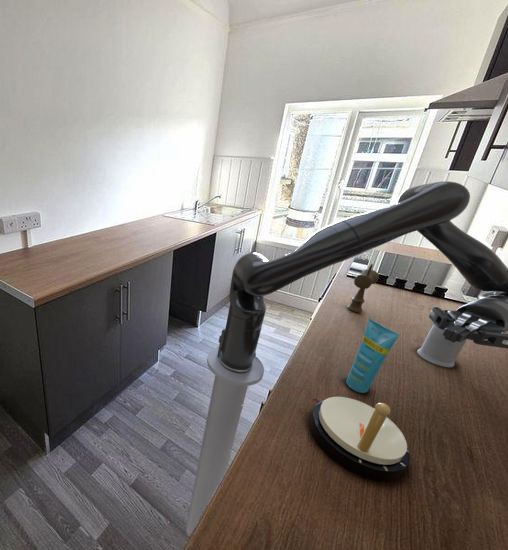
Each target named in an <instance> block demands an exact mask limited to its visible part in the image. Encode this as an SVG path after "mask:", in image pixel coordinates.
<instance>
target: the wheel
mask: <svg viewBox="0 0 508 550" xmlns="http://www.w3.org/2000/svg"><path fill="white" fill-rule="evenodd" d="M322 401H323V403H322V404H321V407H320V409H319V419H320V422H321V424H322V426H323V428H324V429H325V431H326V432H327V433H328V435H329V436H330V437H331V438H332V439H333V440H334V441H335V442H336V443H338V444H339V445H340V446H341V447H343V448H344V449H346V450H347V451H349V452H350V453H352V454H354V455H356V456H357V457H359V458H362V459H364V460H367V461H370V462H373V463H377V464H383V465H390V464H395V463H398V462H399V461H401V460H402V458H403V457H404V455H405V453H406V451H407V447H408V443H407V440H406V438H405V435H404V434H403V432H402V430H400V428H399V427H398V426H397V425H396V424H395V423H394V422H393V421H392V420H391V419H390V418H389V417H388V416H390V414H391V412H392V411H391V408H390V406H389V405H388V404H386V403H385V402H377V403H375V404H374V407H373V406H371V405H369V404H367V403H365V402H362V401H360V400H357V399H354V398H350V397H346V396H332V397H328V398H326V399H324V400H322Z"/></svg>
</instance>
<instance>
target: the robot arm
mask: <svg viewBox="0 0 508 550" xmlns="http://www.w3.org/2000/svg"><path fill="white" fill-rule="evenodd" d="M470 200H471V193H470V191H469V189H468V187H466V186H465V185H463V184H462V183H459V182H455V181H445V180H443V181H442V180H441V181H435V182H430V183H425V184H420V185H415V186H412V187H409V188H406V190H404V191H403V192H402V193H401V194H400V195H399V196H398V198H397V200H396V203H395V204H392V205H390V206H386V207H383V208H379V209H376V210H371V211H367V212H363V213H359V214H356V215H353V216H350V217H349V216H348V217H347V218H344V219H341V220H338V221H336V222H333V223H331V224H329V225H326V226H325V227H322V228H320V229H318V230H317V231H315V232H313V234H311V235H310V236H309V237H307V239H306V240H305V241H304V242H303V243H302V244H301V245H300V246H299V247H298V248H297V249H295V250H293V251H291V252H289V253H287V254H284V255H282V256H279V257H277V258H274V259H270V260H268V258H266V257H265V256H264V255H263V254H261V253H257V252H249V253H245V254H243V255H242V256H240V257H239V258H238V259H237V261H236V262H235V265H234V266H233V269H232V274H231V281H230V287H229V295H228V296H229V307H228V313H227V319H226V323H225V328H224V329H222V330H221V334H220V335H219V337H218V343H219V345H218V347H219V349H218V355H217V357H219V362H220V364H221V365H222V366H223V367H224V368H225V369H227V370H229V371H231V372H234V373H247V372H249V371H250V370H251V369H252V365H253V360H254V356H255V357H257V354H256V353H257V352H256V351H257V348H258V345H259V340H260V335H261V331H262V328H263V323H264V319H265V316H266V311H267V306H266V302H265V296H269V295H271V294H273V293H275V292H277V291H279V290H281V289H283V288H285V287H287V286H289V285H290V284H292V283H294V282H296V281H298V280H300V279H302V278H304V277H307V276H309V275H312V274H315V273H316V272H319V271H321V270H323V269H326V268H328V267H331V266H334V265H337V264H339V263H341V262H344V261H346V260H349V259H352V258H354V257H356V256H359V255H361V254H364V253H366V252H368V251H370V250H372V249H375V248H378V247H380V246H383V245H385V244H387V243H390V242H392V241H395V240H396V239H398V238H401V237H402V236H405V235H408V234H411V233H413V232H416V231H417V233H419V234H420V235H421V236H422V237H423V238H425V239H426V240H427V241H428V242H429V243H431V244H432V246H434V247H435V248H436V249H437V250H438V251H440V253H441V254H443V256H444V257H445V258H447V259H448V261H449V262H451V264H452V265H453V266H454V267H455V269H457V272H458V273H460V275H461V276H462V277H463V278H464V280H465V281H466V282H467V283H468V284H469V286H470V287H472V288H473V289H474V290H476V291H480V292H483V293H480V294H479V295H477V297H476V299H475V300H472V301H470V302H468V303H466V304H463V305H461V306H460V307H458V308H456V309H455V310H449V311H448V312H447V313H446V312H445V311H442V310H443V309H442V308H440V307H439V306H433V307H432V309H431V311H430V313H429V315H428V318H429V319H430V321H432V322H433V324H434V323H435V325H436V326H437V327H438V328H439V329H441V330H444V332H443V334H442V335H443V336H445V337H444V339H447V340H449V341H451V342H454V343H455V342H456V341H458V342H463V341H464V340H467V341H469V340H470V341H472V342H473V343H474V344H476V345H479V346H487V347H492V348H501V349H508V333H506V332H508V267H507V265H506V264H505V263H504V262H503V261H502V259H501V258H500V257H499V255H498V254H497V253H496V252H494V251H493V250H492V249H491V248H490V247H488V246H487V245H486V244H484V243H483V242H482V241H480V240H478V239H477V238H475V237H473V236H472V235H470V234H468V233H466V232H465V231H463V230H462V229H461V228H460V227H458V226H457V225H456V224H454V223H453V222H452V221H453V220H454V219H455V218H458V217H459V216H460V215H461V214H462V213H463V212H464V211H465V210H466V209H467V208H468V206H469V203H470Z"/></svg>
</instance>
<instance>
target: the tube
mask: <svg viewBox="0 0 508 550" xmlns="http://www.w3.org/2000/svg"><path fill="white" fill-rule="evenodd" d="M399 336H400V333H398V332H396V331H394V330H392V329H390V328H388V327H386V326H384V325H382V324H380V323H378V322H377V321H376V320H373V319H372V318H371V317H369V318H368V321H367V324H366V328H365V330H364V334H363V336H362V339H361V343H360V344H359V348H358V349H357V352H356V355H355V358H354V361H353V363H352V366H351V368H350V371H349V373H348V376H347V378H346V381H345V383H346V385H347V386H348V388H350V389H351V390H352V391H355V392H357V393H361V394H365V393H367V392H368V391H369V389H370V388H371V386H372V384H373V381H374V380H375V378H376V376H377V375H378V372H379V371H380V368H381V367H382V365H383V363H384V361H385V360H386V358H387V356H388V354H389V353H390V351H391V349H392V347H393V346H394V344H395V342H397V340H398V338H399Z"/></svg>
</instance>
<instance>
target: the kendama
mask: <svg viewBox="0 0 508 550" xmlns="http://www.w3.org/2000/svg"><path fill="white" fill-rule="evenodd" d="M373 266H374V264H373V263H371V264H370V265H369V267H368V268H367V269H364V270H362V271H361V273H360V274H358V275H356V276H355V278H354V280H353V283H354V286H355V287H357V288H358V291H357V292H356V293H355V295H354V296H353V297H351V303H350V304H348V305H347V309H348V310H349V311H351V312H355V313H362V312H363V308H362V307H363V304H364V303H365V302H366V301H365V299H364V297H365V290H368V289H369V288H371V286H372V285H375V284H376V283H377V282H378V281H379V279H380V278H379V277H380V275H379V272H377V271H376V270H374V269H373Z"/></svg>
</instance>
